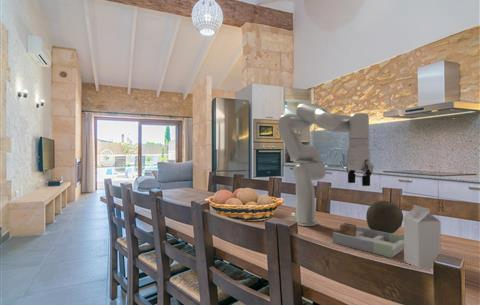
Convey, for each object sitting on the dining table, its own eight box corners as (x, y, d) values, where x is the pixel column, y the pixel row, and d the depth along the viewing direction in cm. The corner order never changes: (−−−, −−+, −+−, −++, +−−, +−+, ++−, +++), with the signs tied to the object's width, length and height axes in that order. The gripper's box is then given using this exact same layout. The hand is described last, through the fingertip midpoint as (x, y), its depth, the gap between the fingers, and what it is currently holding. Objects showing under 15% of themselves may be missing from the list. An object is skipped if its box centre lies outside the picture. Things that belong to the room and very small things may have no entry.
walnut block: (340, 235, 110) (340, 224, 110) (345, 233, 113) (345, 222, 113) (351, 238, 107) (350, 227, 107) (356, 236, 110) (356, 225, 110)
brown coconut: (386, 241, 110) (386, 205, 110) (359, 232, 123) (359, 199, 123) (410, 237, 115) (409, 202, 116) (381, 229, 129) (381, 197, 129)
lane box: (332, 242, 110) (332, 232, 110) (351, 234, 120) (351, 225, 120) (391, 257, 93) (391, 246, 93) (406, 247, 104) (406, 236, 104)
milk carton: (424, 261, 90) (424, 204, 90) (441, 270, 83) (440, 208, 83) (403, 261, 90) (403, 204, 90) (418, 271, 83) (418, 209, 83)
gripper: (339, 143, 120) (338, 182, 120) (363, 142, 103) (363, 187, 103) (354, 143, 121) (354, 181, 121) (381, 142, 104) (381, 186, 104)
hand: (358, 184), depth 112 cm, fingers open, 9 cm apart
